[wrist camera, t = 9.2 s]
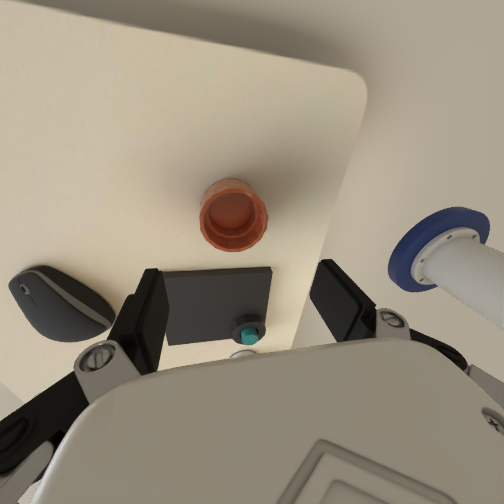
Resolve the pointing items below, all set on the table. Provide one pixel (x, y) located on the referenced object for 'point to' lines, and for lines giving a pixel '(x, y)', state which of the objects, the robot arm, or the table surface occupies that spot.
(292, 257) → the table surface
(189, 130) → the table surface
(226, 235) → the bowl
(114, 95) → the table surface
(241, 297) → the scale
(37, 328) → the computer mouse
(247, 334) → the button
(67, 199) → the table surface
